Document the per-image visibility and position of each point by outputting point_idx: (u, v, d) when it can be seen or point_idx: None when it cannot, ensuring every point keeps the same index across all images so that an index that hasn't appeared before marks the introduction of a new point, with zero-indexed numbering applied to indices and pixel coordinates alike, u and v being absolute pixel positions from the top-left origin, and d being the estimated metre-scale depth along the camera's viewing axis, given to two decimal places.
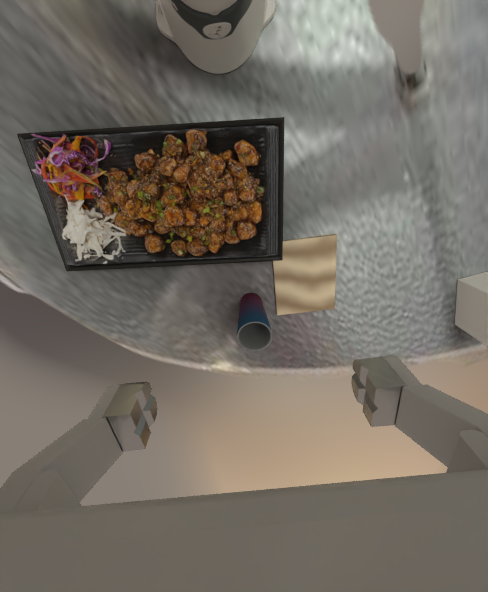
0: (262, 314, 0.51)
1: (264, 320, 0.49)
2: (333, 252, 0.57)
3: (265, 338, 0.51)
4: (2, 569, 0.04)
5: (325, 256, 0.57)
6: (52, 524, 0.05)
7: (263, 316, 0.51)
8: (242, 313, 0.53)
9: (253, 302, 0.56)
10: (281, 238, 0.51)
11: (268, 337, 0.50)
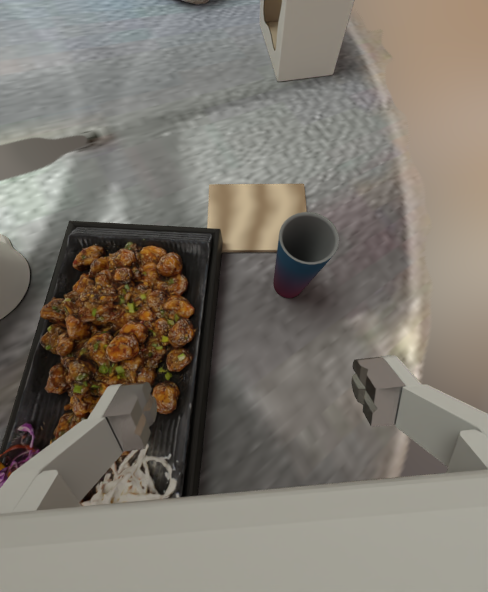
0: None
1: None
2: (229, 187, 0.49)
3: (320, 231, 0.32)
4: (2, 569, 0.04)
5: (233, 194, 0.48)
6: (52, 524, 0.05)
7: None
8: (282, 272, 0.34)
9: None
10: (191, 228, 0.41)
11: (315, 223, 0.31)
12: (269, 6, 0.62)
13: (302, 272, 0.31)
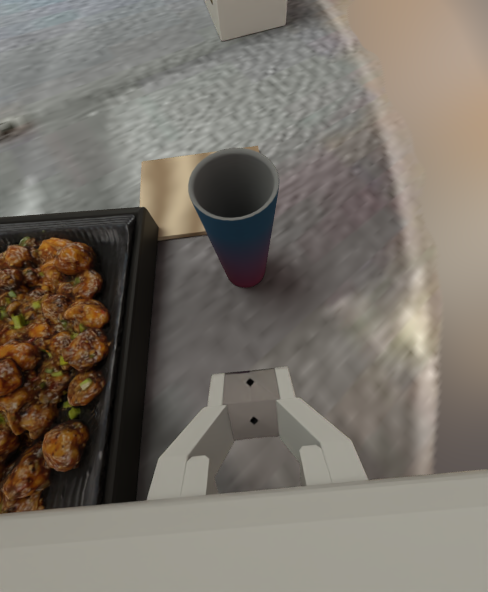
0: None
1: None
2: (166, 161, 0.39)
3: (257, 178, 0.22)
4: (2, 569, 0.04)
5: (170, 169, 0.39)
6: (52, 524, 0.05)
7: None
8: (216, 247, 0.24)
9: None
10: (107, 210, 0.31)
11: (247, 165, 0.21)
12: None
13: (234, 239, 0.20)
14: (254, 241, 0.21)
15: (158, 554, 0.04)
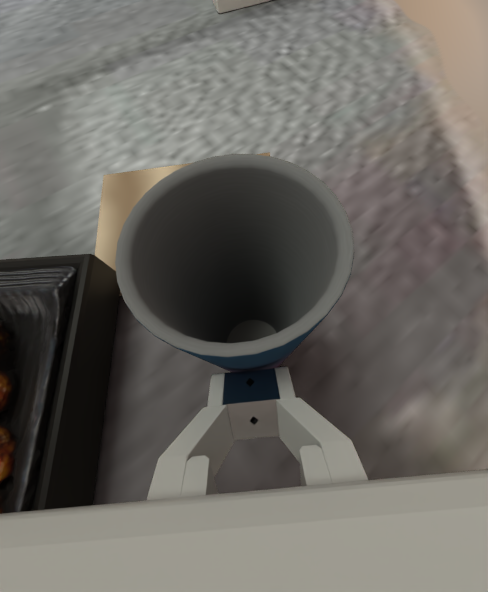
0: None
1: None
2: (138, 174, 0.27)
3: (284, 219, 0.10)
4: (2, 569, 0.04)
5: (144, 186, 0.27)
6: (52, 524, 0.05)
7: None
8: None
9: None
10: (31, 260, 0.19)
11: (263, 193, 0.09)
12: None
13: (235, 366, 0.09)
14: (279, 358, 0.10)
15: (158, 554, 0.04)
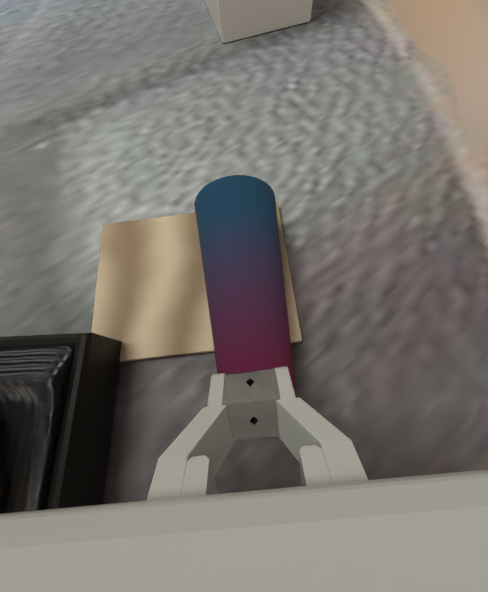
0: None
1: None
2: (139, 224, 0.26)
3: None
4: (2, 569, 0.04)
5: (145, 238, 0.25)
6: (52, 524, 0.05)
7: None
8: (208, 257, 0.18)
9: None
10: (24, 338, 0.18)
11: None
12: None
13: (228, 208, 0.18)
14: (253, 220, 0.18)
15: (158, 554, 0.04)
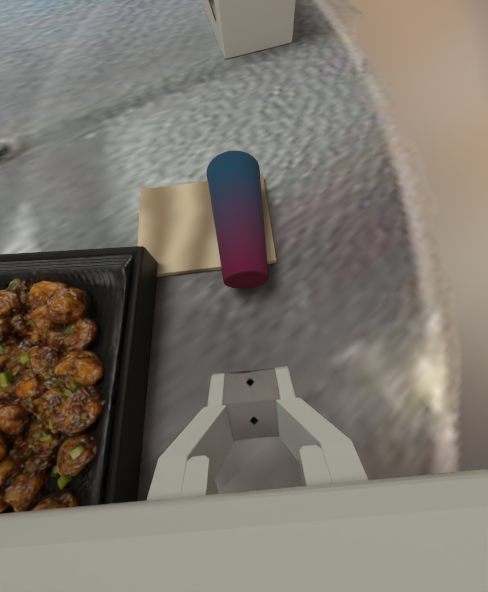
0: None
1: None
2: (166, 189, 0.37)
3: None
4: (2, 569, 0.04)
5: (171, 198, 0.37)
6: (52, 524, 0.05)
7: None
8: (216, 201, 0.30)
9: None
10: (103, 250, 0.29)
11: None
12: None
13: (229, 170, 0.29)
14: (243, 178, 0.29)
15: (158, 554, 0.04)
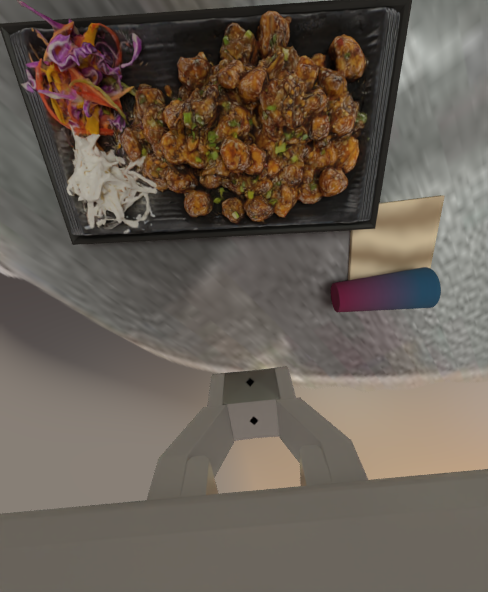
0: None
1: None
2: (435, 221, 0.42)
3: None
4: (2, 569, 0.04)
5: (424, 227, 0.42)
6: (52, 524, 0.05)
7: None
8: (400, 283, 0.40)
9: (369, 277, 0.43)
10: (379, 195, 0.36)
11: None
12: None
13: (422, 295, 0.40)
14: (412, 304, 0.41)
15: (158, 554, 0.04)
